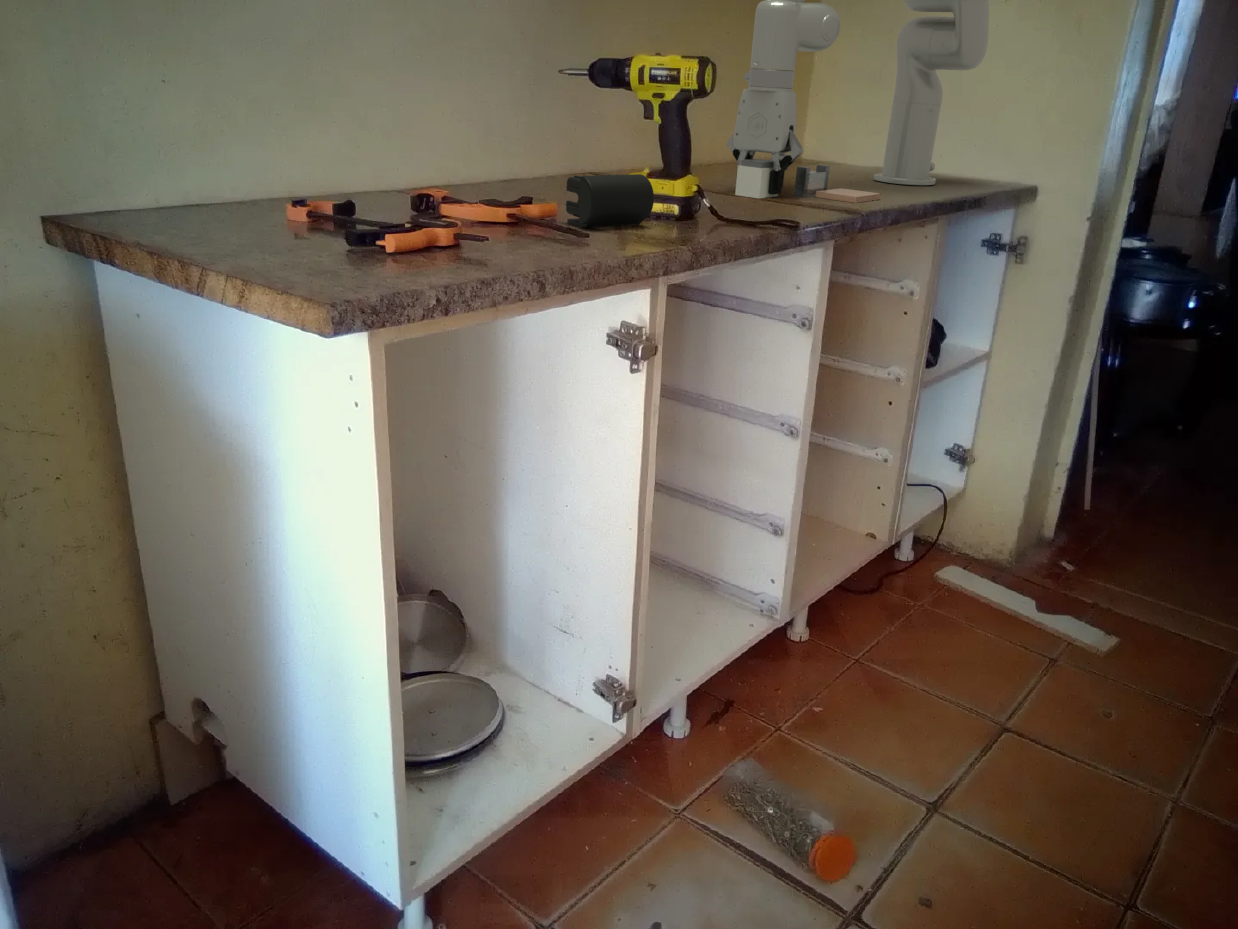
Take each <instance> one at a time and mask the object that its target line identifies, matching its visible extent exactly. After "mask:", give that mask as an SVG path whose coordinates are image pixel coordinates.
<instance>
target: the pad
mask: <svg viewBox="0 0 1238 929" xmlns="http://www.w3.org/2000/svg"><path fill="white" fill-rule="evenodd" d="M881 195H882V194H881V193H877V192H871V191H865V190H863V191H862V190H856V189H850V188H841V187H840V188H832V189H831V188H830V189H827V190H823V191H816V196H815V198H817V199H818V198H820V199H825V200H833V201H838V202H839V201H840V202H846V203H853V204H859V203H863V202H864V203H865V202H871V201H872V200H873V201H877V200H878V201H879V199H881Z"/></svg>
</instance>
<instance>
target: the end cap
mask: <svg viewBox="0 0 1238 929" xmlns="http://www.w3.org/2000/svg"><path fill="white" fill-rule="evenodd" d="M565 187H566V191H567V192H570V193H573V194H574V193H575V194H576V195H577V201H573V200H566V203H565V206H566V207H565V208H566V209H565V210H566V213H567V214H568V215H572V216H573V217H576V218H567V224H568V225H569V226H574V227H578V228H580V229H591V228H592V229H593V228H609V227H622V226H638V225H641V224H642V222H644V221H645V220H646V219H647V218H649V216H650V215H651V214H652V210H653V209H654V208H653V207H654V203H655V202H654V200H655V194H654V189H653V186H652V183H651V181H650V180H649V178H648V177H647V176H646V175H643V174H641V173H640V174H635V173H634V174H607V175H605V174H599V175H597V174H596V175H594V174H593V175H584V174H583V175H581V176H580V175H574V176H570V177H569V176H568V178H567V180H566V186H565Z"/></svg>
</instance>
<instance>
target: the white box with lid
mask: <svg viewBox="0 0 1238 929" xmlns="http://www.w3.org/2000/svg"><path fill="white" fill-rule="evenodd" d="M772 170H774V166H773V160H770V159H763V158H753V159H746V160H742V163H741V165H740V166H738V165H737V172H736V174H737V175H736V182H735V193H734V195H735V196H740V197H748V198H754V199H765V198H766V197H767V198H775V197H778V196H779V194H774V195H771V194H769V193H768V190H769V181H770V172H771V171H772Z"/></svg>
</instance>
